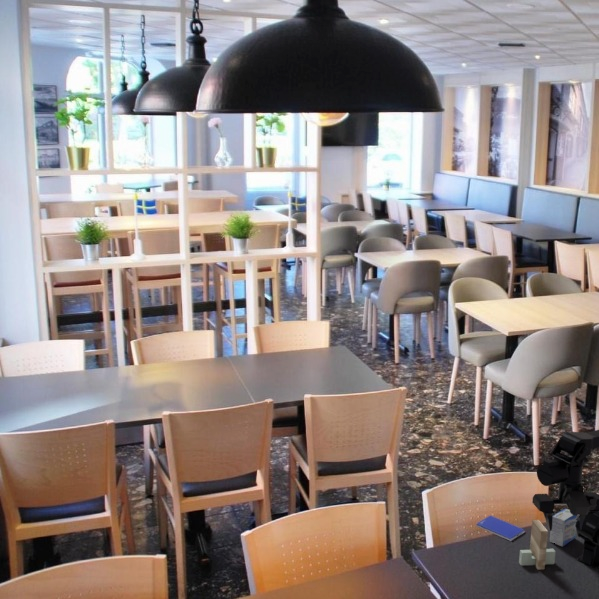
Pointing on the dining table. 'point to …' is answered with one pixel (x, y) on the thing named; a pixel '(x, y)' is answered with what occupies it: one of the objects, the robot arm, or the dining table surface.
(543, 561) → the birch plate
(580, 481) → the robot arm
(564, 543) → the medicine box
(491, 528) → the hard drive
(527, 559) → the pale green u-shaped block
